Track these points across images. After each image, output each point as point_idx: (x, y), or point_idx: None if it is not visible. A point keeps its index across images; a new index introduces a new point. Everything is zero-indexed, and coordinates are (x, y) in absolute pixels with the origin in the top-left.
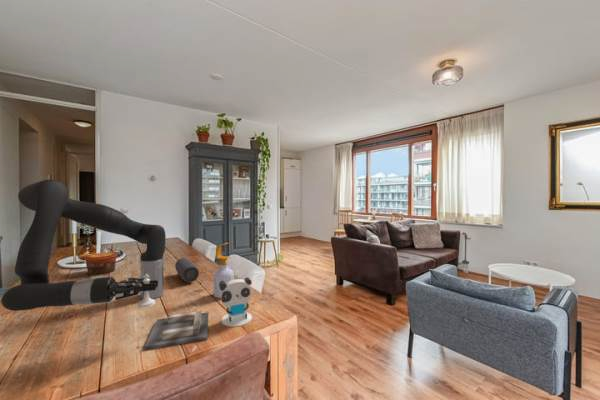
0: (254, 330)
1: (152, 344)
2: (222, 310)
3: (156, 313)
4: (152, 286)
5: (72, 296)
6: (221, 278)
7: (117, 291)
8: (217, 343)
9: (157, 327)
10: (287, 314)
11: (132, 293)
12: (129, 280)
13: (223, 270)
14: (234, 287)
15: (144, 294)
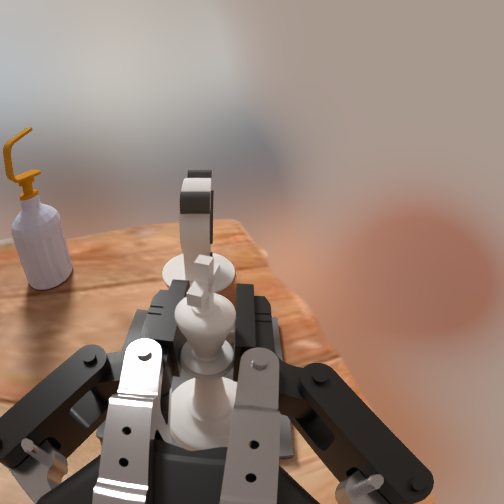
0: (262, 257)
1: (284, 436)
2: (133, 288)
3: None
4: (267, 305)
5: None
6: (51, 230)
7: (426, 478)
8: (297, 307)
9: None
10: (222, 220)
11: (312, 429)
12: (104, 460)
13: (40, 209)
14: (210, 196)
15: (216, 395)
